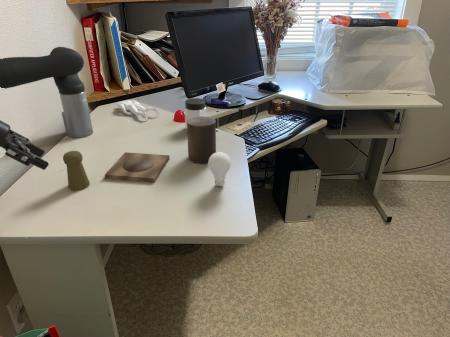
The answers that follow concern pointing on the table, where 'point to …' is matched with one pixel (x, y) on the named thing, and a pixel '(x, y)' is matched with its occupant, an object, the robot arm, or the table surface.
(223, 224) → the table surface
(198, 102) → the jar
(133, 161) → the walnut board
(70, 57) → the robot arm
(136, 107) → the superhero figure
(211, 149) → the pillar candle
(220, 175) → the light bulb
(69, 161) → the cork
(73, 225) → the table surface
